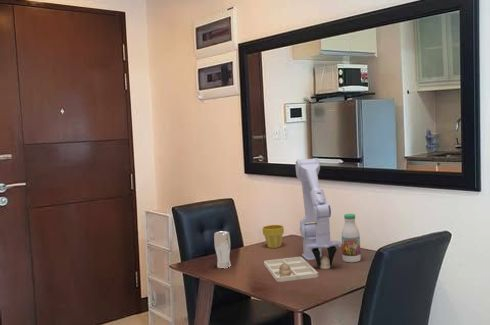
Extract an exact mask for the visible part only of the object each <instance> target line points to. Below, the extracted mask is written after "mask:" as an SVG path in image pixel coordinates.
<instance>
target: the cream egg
mask: <svg viewBox="0 0 490 325" xmlns="http://www.w3.org/2000/svg"><path fill="white" fill-rule="evenodd" d="M319 269H321V270H328V269H331V265H330V259H329V257H328V255H325V254H324V255H323V254H322V256H321V257H320V267H319Z"/></svg>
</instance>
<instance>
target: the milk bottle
mask: <svg viewBox="0 0 490 325" xmlns="http://www.w3.org/2000/svg"><path fill="white" fill-rule="evenodd" d="M343 218H344V225H343V227H342V230H341V251H342V252H341V253H342V261H343V262H345V263H357V262H358V263H359V262H360V261H361V258H362V255H361V254H362V252H361V237H360V231H359V228H358V227H357V224H356V215H355V214H354V213H346V214H344V215H343Z"/></svg>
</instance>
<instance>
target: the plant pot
mask: <svg viewBox="0 0 490 325" xmlns="http://www.w3.org/2000/svg"><path fill="white" fill-rule="evenodd" d="M284 229H285V228H284V225H282V224H269V225H268V224H267V225H265V226H262V235H263V236H264V238H265V243H266V245H267V248H270V249H277V248H280V247H282V240H283V235H284V233H285V230H284Z"/></svg>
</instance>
